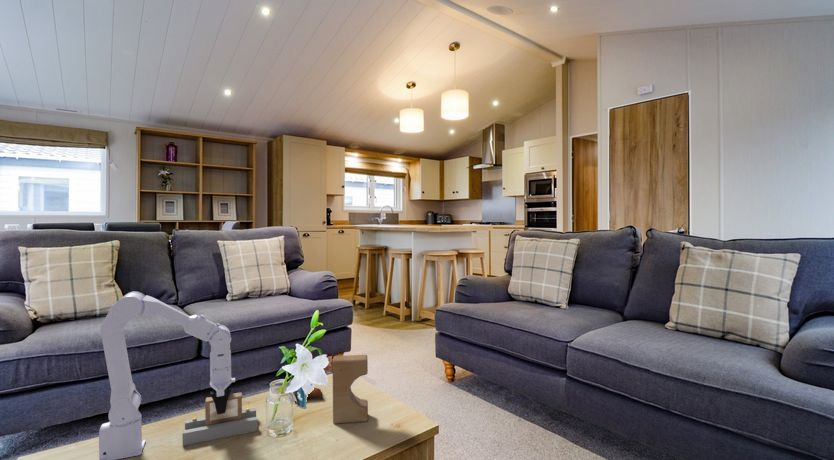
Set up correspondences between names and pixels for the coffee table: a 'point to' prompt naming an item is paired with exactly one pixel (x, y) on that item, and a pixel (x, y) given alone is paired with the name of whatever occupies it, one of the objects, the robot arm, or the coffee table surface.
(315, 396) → the sunglasses case
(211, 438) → the picture ledge
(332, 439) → the coffee table surface
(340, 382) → the decorative block
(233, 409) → the walnut frame
